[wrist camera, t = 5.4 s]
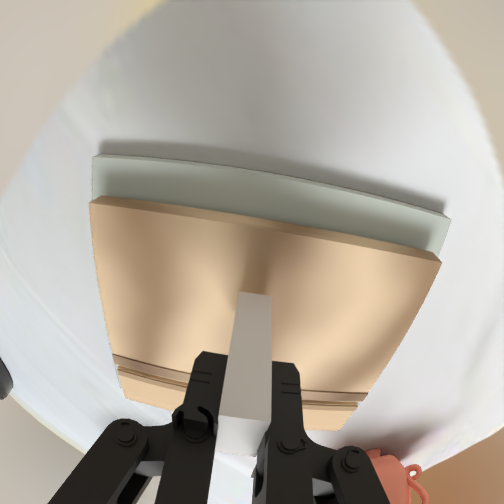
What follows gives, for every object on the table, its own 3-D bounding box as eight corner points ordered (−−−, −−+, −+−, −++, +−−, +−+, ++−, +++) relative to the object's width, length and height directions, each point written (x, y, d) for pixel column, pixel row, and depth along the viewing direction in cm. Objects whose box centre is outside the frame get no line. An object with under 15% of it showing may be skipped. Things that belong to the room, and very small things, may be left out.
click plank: (121, 352, 19) (115, 365, 18) (100, 195, 14) (88, 203, 13) (358, 389, 20) (361, 402, 18) (432, 251, 14) (442, 263, 13)
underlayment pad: (124, 379, 23) (115, 398, 21) (101, 154, 14) (78, 161, 12) (344, 413, 23) (347, 434, 21) (443, 213, 15) (463, 228, 12)
